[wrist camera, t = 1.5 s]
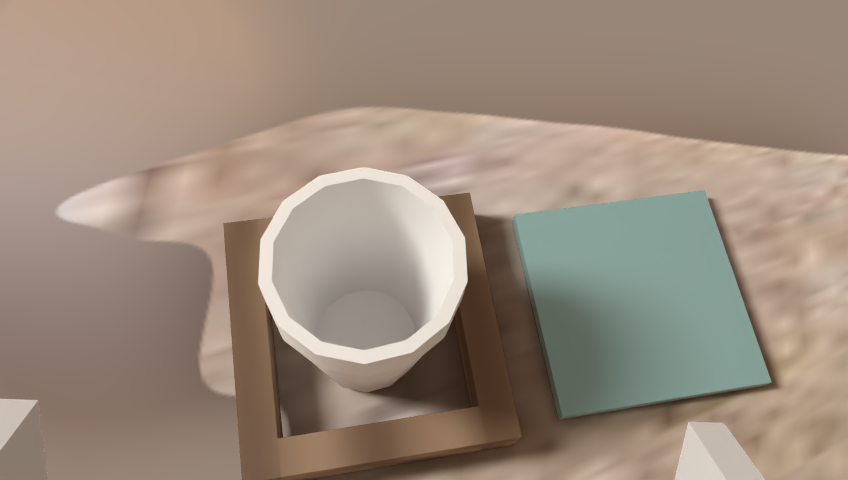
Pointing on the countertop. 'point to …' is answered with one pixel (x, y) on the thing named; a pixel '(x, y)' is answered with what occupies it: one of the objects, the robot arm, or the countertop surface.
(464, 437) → the brown flat square frame
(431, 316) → the foam cup
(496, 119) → the countertop surface
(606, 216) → the mat
